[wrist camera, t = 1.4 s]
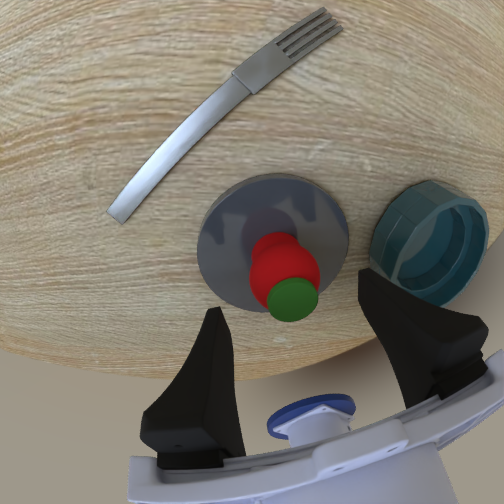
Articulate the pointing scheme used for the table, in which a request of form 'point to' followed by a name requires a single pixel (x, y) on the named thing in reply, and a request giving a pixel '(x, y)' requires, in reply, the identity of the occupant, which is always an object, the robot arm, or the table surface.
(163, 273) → the table surface
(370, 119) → the table surface
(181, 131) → the fork
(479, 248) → the bowl
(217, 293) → the plate
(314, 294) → the strawberry
